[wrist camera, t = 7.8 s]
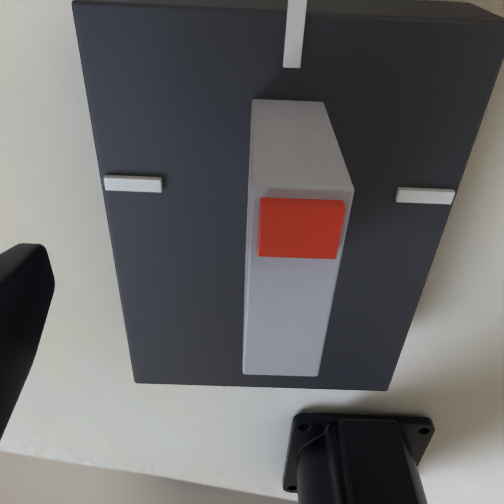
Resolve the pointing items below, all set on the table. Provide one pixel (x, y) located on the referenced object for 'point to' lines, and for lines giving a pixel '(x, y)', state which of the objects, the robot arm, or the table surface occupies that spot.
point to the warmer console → (238, 153)
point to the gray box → (292, 236)
